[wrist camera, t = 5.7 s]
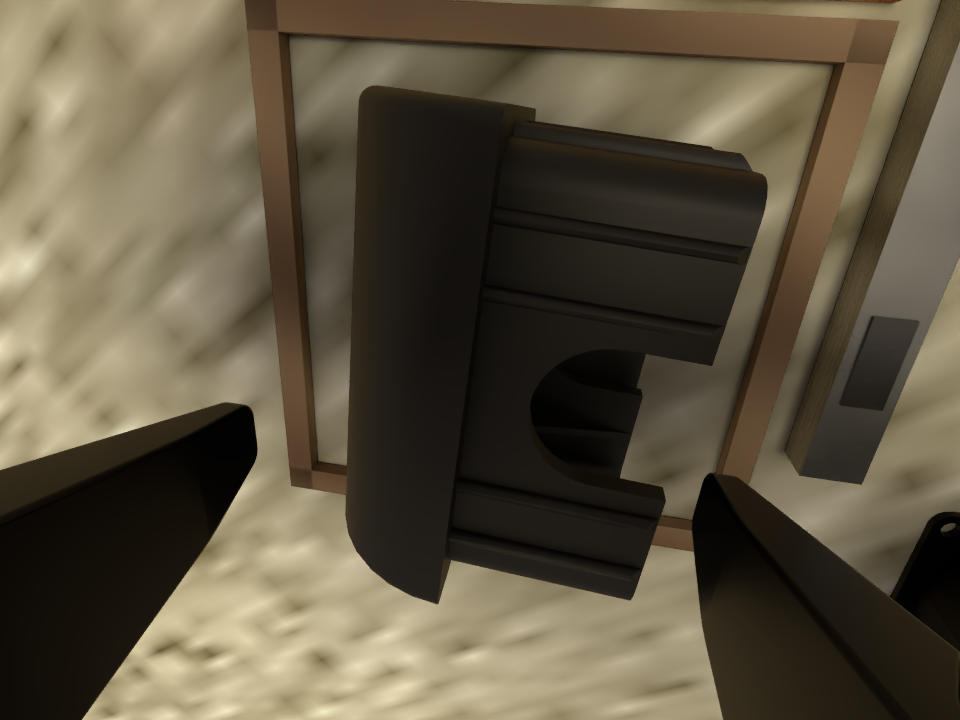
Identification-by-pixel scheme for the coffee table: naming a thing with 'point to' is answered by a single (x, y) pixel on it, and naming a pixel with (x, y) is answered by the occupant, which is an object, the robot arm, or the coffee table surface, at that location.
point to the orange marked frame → (875, 0)
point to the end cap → (522, 332)
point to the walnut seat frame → (432, 18)
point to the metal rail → (890, 275)
